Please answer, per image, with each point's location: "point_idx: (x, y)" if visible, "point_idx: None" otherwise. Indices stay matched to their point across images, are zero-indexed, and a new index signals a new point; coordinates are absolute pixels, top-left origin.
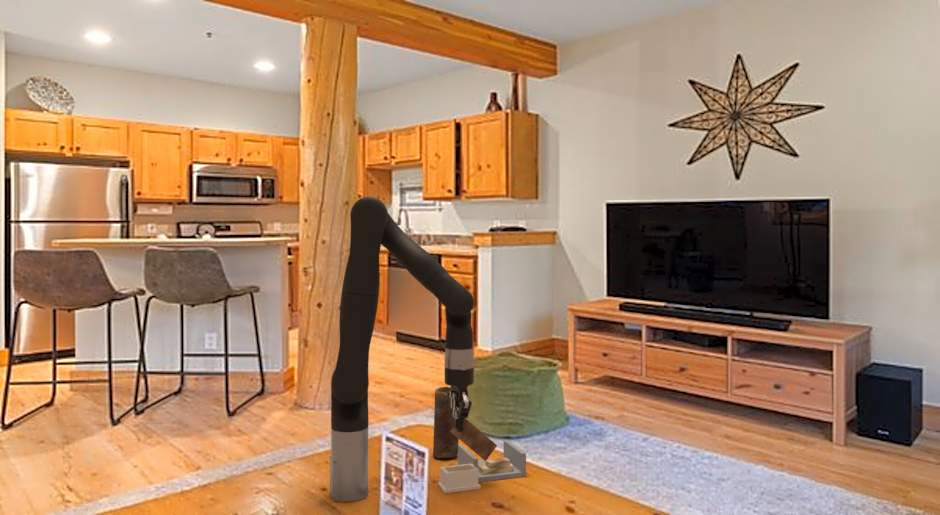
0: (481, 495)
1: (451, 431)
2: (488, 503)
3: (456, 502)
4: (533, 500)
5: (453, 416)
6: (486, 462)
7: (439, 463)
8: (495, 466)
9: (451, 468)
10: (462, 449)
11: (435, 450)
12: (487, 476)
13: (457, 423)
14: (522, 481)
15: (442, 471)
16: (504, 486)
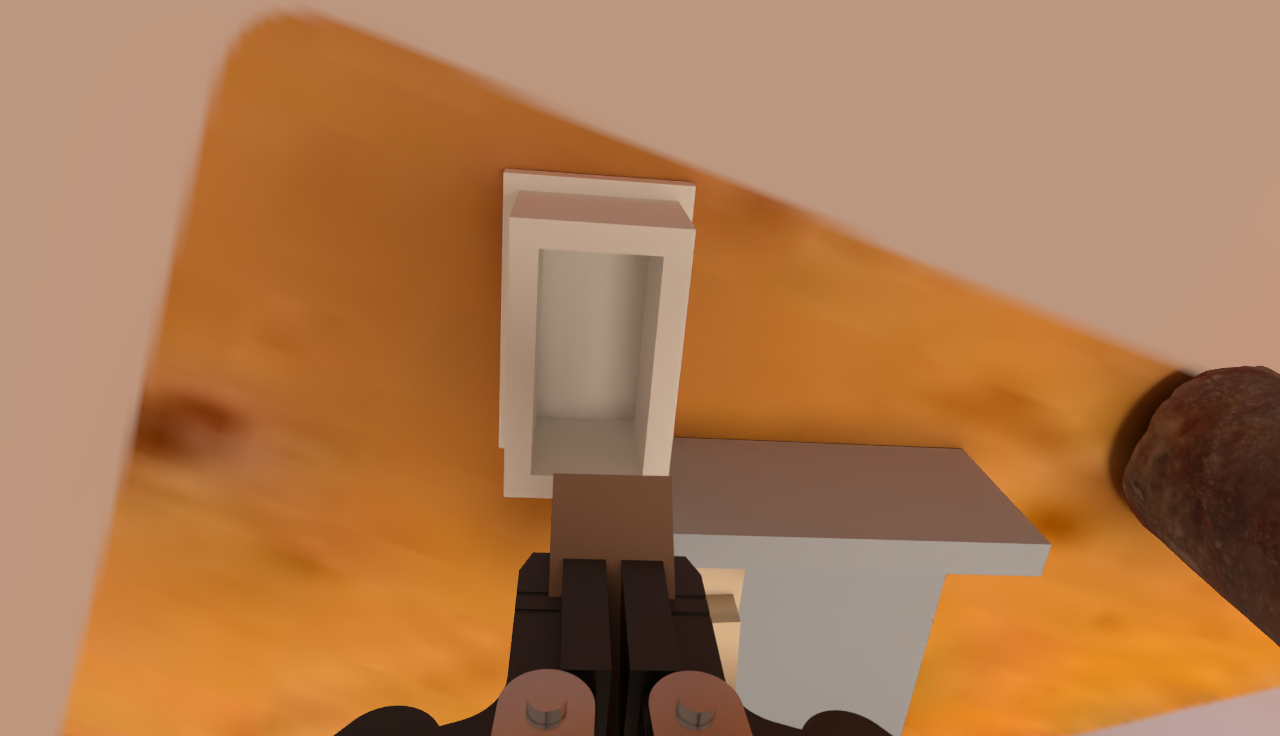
0: (380, 397)
1: (639, 488)
2: (221, 386)
3: (299, 185)
4: (205, 638)
5: (690, 686)
6: (719, 612)
7: (1109, 358)
8: None
9: (655, 319)
10: (930, 539)
11: (1257, 390)
12: None
13: (559, 639)
14: None
15: (622, 220)
16: (486, 580)
